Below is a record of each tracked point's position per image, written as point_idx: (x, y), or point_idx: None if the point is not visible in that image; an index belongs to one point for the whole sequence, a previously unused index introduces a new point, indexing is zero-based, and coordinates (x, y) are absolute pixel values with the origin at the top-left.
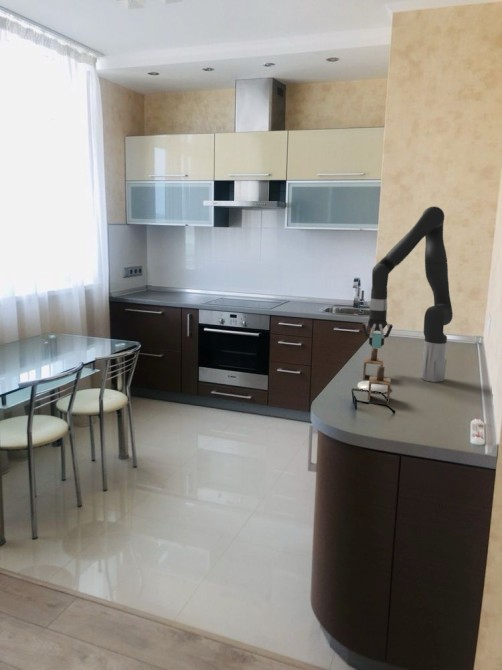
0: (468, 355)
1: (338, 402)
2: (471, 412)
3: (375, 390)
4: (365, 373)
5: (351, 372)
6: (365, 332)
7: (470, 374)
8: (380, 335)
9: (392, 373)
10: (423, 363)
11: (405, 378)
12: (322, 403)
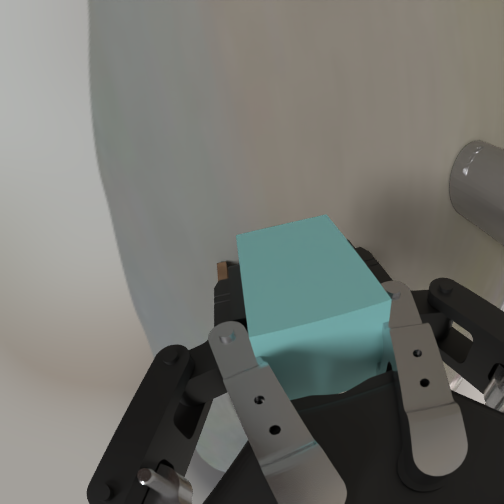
0: None
1: (234, 448)
2: None
3: None
4: (227, 271)
5: (152, 256)
6: (180, 428)
7: None
8: (365, 379)
9: (347, 162)
10: (494, 228)
11: (398, 217)
12: (210, 456)
